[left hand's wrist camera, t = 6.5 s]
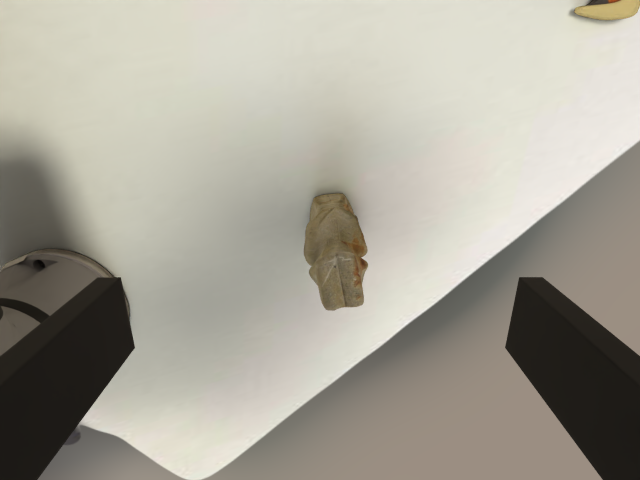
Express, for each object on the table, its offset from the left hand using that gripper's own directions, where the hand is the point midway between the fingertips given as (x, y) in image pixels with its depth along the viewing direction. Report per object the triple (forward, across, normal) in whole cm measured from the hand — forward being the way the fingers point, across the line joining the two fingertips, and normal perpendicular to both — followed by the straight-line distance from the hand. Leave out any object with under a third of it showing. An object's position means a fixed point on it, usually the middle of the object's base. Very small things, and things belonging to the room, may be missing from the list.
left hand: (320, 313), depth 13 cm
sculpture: (+31, -1, +6) cm, 31 cm away
